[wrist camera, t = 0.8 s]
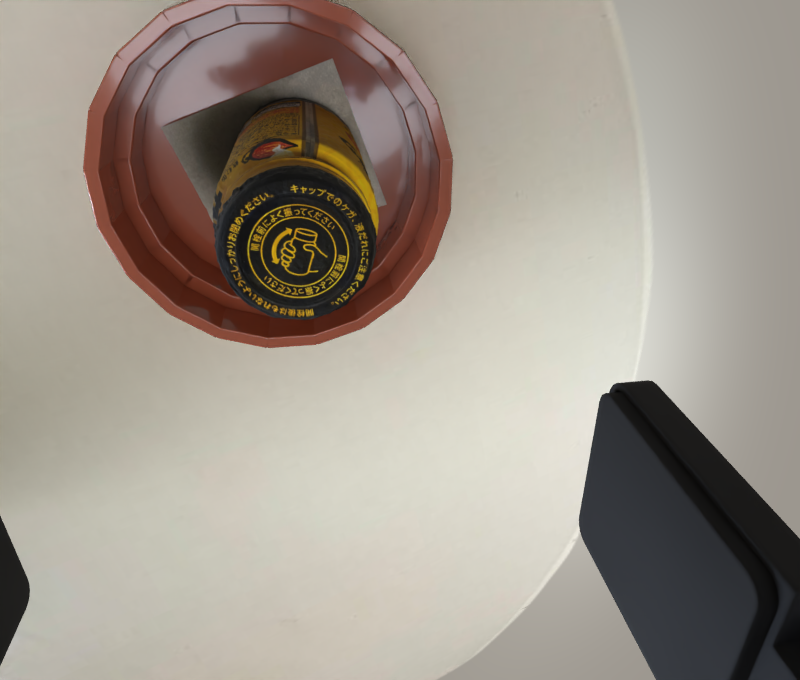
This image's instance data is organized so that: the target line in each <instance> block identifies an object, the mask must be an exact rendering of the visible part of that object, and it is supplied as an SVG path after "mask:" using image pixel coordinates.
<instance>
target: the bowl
mask: <svg viewBox="0 0 800 680" xmlns="http://www.w3.org/2000/svg"><path fill="white" fill-rule="evenodd" d="M332 58H333V61H334V64H335V66H336V69H337V72H338V74H339V77H340V80H341V82H342V85H343V88H344V91H345V94H346V96H347V98H348V101H349V104H350V107H351V109H352V112H353V115H354V117H355V120H356V123H357V125H358V128H359V131H360V134H361V136H362V139H363V142H364V144H365V147H366V150H367V152H368V155H369V158H370V160H371V163H372V166H373V169H374V171H375V174H376V177H377V179H378V182H379V185H380V187H381V190H382V193H383V195H384V198H385V201H386V204H387V205H384V206H380V207H378V214H379V223H378V232H377V239H376V256H375V259H374V263H373V267H372V270H371V273H370V276H369V278H368V280H367V282H366V284H365V286H364V287H363V288H362V289H361V290H360V291H358V292H357V293H356V294H355V295H354V296H353V298H352V299H351V300H350V301H349V303H348V304H347V305H345V306H343V307H342V308H340V309H338V310H335V311H333V312H332V313H330V314H326V315H323V316H320V317H318V318H314V319H309V320H300V319H285V318H274V317H271V316H268V315H267V314H265V313H263V312H261V311H259V310H257V309H255V308H253V307H251V306H249V305H248V304H247V303H245V302H244V301H243V300H242V299H241V298H240V297H239V296H238V295H237V294H236V293H235V292H234V291H233V289H232V288H231V287H230V285H229V284H228V282H227V280H226V278H225V277H224V275H223V273H222V271H221V268H220V265H219V263H218V262H217V256H216V250H215V247H214V245H215V237H214V228H213V222H212V220H211V218H210V216H209V214H208V211H207V209H206V208H205V206H204V205H203V203H202V201H201V199H200V197H199V195H198V193H197V192H196V190H195V188H194V186H193V184H192V182H191V181H190V179H189V177H188V175H187V173H186V172H185V170H184V168H183V166H182V164H181V162H180V160H179V159H178V157H177V155H176V153H175V151H174V149H173V148H172V146H171V144H170V143H169V141H168V140H167V138H166V136H165V134H164V132H163V130H162V129H161V127H163V126H166V125H168V124H171V123H173V122H176V121H178V120H181V119H184V118H186V117H188V116H191V115H193V114H195V113H198V112H200V111H202V110H205V109H208V108H210V107H213V106H215V105H218V104H220V103H223V102H226V101H228V100H230V99H233V98H235V97H238V96H240V95H242V94H244V93H247V92H250V91H252V90H255V89H257V88H259V87H262V86H265V85H267V84H269V83H272V82H274V81H277V80H279V79H282V78H284V77H287V76H289V75H292V74H294V73H297V72H299V71H302V70H304V69H307V68H309V67H312V66H314V65H317V64H319V63H322V62H324V61H327V60H329V59H332ZM452 168H453V158H452V152H451V149H450V145H449V141H448V138H447V134H446V131H445V127H444V123H443V120H442V116H441V112H440V109H439V105H438V103H437V100H436V99H435V97H434V96H433V94H432V92H431V91H430V89H429V88H428V86H427V85H426V83H425V82H424V80H423V79H422V77H421V76H420V74H419V73H418V71H417V70H416V68H415V67H414V65H413V63H412V62H411V60H410V59H409V57H408V56H407V54H406V53H405V51H403V49H402V48H400V47H399V46H398V45H397V44H395V43H394V42H393V41H392V40H390V39H389V38H388V37H387V36H385V35H384V34H383V33H382V32H380V31H379V30H378V29H377V28H375V27H374V26H373V25H372V24H370V23H369V22H368V21H366V20H365V19H364V18H363V17H361V16H360V15H359V14H358V13H356V12H355V11H353V10H352V9H350V8H347V7H344V6H341V5H338V4H336V3H333V2H330V1H327V0H188V1H186V2H183V3H181V4H178V5H175V6H173V7H170V8H167V9H165V10H163V11H162V12H160V13H159V14H158V15H157V16H156V17H155V18H154V19H152V20H151V21H150V22H149V23H148V24H147V25H146V26H145V27H144V28H143V29H142V30H140V31H139V32H138V33H137V34H136V35H135V36H134V37H133V38H132V39H131V40H130V41H128V42H127V43H126V44H125V45H124V46H123V47H122V48H121V49H120V50H119V51H118V52H117V53H116V54H115V55H114V57H113V59H112V61H111V64H110V66H109V68H108V70H107V72H106V74H105V76H104V78H103V80H102V82H101V84H100V86H99V88H98V90H97V93H96V95H95V97H94V99H93V101H92V103H91V105H90V107H89V111H88V119H87V130H86V142H85V153H84V164H83V172H84V176H85V180H86V184H87V188H88V192H89V196H90V200H91V204H92V208H93V212H94V216H95V220H96V224H97V227H98V229H99V231H100V232H101V234H102V236H103V237H104V239H105V241H106V242H107V244H108V245H109V247H110V249H111V250H112V252H113V254H114V255H115V257H116V258H117V260H118V262H119V263H120V265H121V267H122V268H123V270H124V272H125V273H126V275H127V276H128V277H129V278H130V279H131V280H132V281H133V282H134V283H135V284H137V285H138V286H139V287H140V288H141V289H142V290H143V291H144V292H145V293H146V294H148V295H149V296H150V297H151V298H152V299H153V300H154V301H155V302H156V303H157V304H159V305H160V306H161V307H162V308H163V309H164V310H165V311H166V312H167V313H169V314H170V315H172V316H174V317H176V318H178V319H180V320H182V321H184V322H186V323H188V324H190V325H192V326H194V327H196V328H198V329H200V330H202V331H204V332H206V333H208V334H210V335H212V336H214V337H217V338H220V339H225V340H230V341H235V342H240V343H245V344H250V345H255V346H260V347H265V348H267V347H268V348H275V347H290V346H304V345H316V344H320V343H323V342H326V341H329V340H332V339H335V338H337V337H340V336H343V335H346V334H349V333H351V332H354V331H357V330H360V329H362V328H364V327H366V326H367V325H369V324H370V323H371V322H373V321H374V320H376V319H377V318H378V317H380V316H381V315H383V314H384V313H385V312H387V311H388V310H389V309H391V308H392V307H394V306H395V305H396V304H398V303H399V302H401V301H402V299H404V298H405V296H406V295H407V294H408V292H409V291H410V290H411V289H412V287H413V286H414V285H415V283H416V282H417V281H418V279H419V278H420V277H421V275H422V274H423V273H424V271H425V270H426V269H427V268H428V266H429V265H430V264H431V262H432V260H433V259H434V257H435V254H436V251H437V249H438V246H439V243H440V240H441V238H442V235H443V232H444V229H445V227H446V224H447V221H448V218H449V216H450V211H451V193H452Z"/></svg>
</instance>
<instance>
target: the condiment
mask: <svg viewBox="0 0 800 680" xmlns="http://www.w3.org/2000/svg"><path fill="white" fill-rule="evenodd" d="M161 129H162V130H163V132H164V134H165V136H166V138H167V140H168V141H169V143H170V144H171V146H172V148H173V149H174V151H175V153H176V155H177V157H178V159H179V160H180V162H181V164H182V166H183V168H184V170H185V172H186V173H187V175H188V177H189V179H190V181H191V182H192V184H193V186H194V188H195V190H196V192H197V193H198V195H199V197H200V199H201V201H202V203H203V205H204V206H205V208H206V209H207V211H208V214H209V216H210V218H211V220H212V222H213V228H214V237H215V245H214V247H215V250H216V256H217V262H218V263H219V265H220V268H221V271H222V273H223V275H224V277H225V278H226V280H227V282H228V284H229V285H230V287H231V288H232V289H233V291H234V292H235V293H236V294H237V295H238V296H239V297H240V298H241V299H242V300H243V301H244V302H245V303H247V304H248V305H249V306H251V307H253V308H255V309H257V310H259V311H261V312H263V313H265V314H267V315H268V316H271V317H274V318H285V319H300V320H309V319H314V318H318V317H320V316H323V315H326V314H330V313H332V312H333V311H335V310H338V309H340V308H342V307H343V306H345V305H347V304H348V303H349V301H350V300H351V299H352V298H353V296H354V295H355V294H356V293H357V292H358V291H360V290H361V289H362V288H363V287H364V286H365V284H366V282H367V280H368V278H369V276H370V273H371V270H372V267H373V263H374V259H375V256H376V239H377V232H378V223H379V214H378V207H380V206H384V205H387V204H386V201H385V198H384V195H383V193H382V190H381V187H380V185H379V182H378V179H377V177H376V174H375V171H374V169H373V166H372V163H371V160H370V158H369V155H368V152H367V150H366V147H365V144H364V142H363V139H362V136H361V134H360V131H359V128H358V125H357V123H356V120H355V117H354V115H353V112H352V109H351V107H350V104H349V101H348V98H347V96H346V94H345V91H344V88H343V85H342V82H341V80H340V77H339V74H338V72H337V69H336V66H335V64H334V61H333V58H332V59H329V60H327V61H324V62H322V63H319V64H317V65H314V66H312V67H309V68H307V69H304V70H302V71H299V72H297V73H294V74H292V75H289V76H287V77H284V78H282V79H279V80H277V81H274V82H272V83H269V84H267V85H265V86H262V87H259V88H257V89H255V90H252V91H250V92H247V93H244V94H242V95H240V96H238V97H235V98H233V99H230V100H228V101H226V102H223V103H220V104H218V105H215V106H213V107H210V108H208V109H205V110H202V111H200V112H198V113H195V114H193V115H191V116H188V117H186V118H184V119H181V120H178V121H176V122H173V123H171V124H168V125H166V126H163V127H161Z"/></svg>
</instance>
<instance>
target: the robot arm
mask: <svg viewBox="0 0 800 680" xmlns="http://www.w3.org/2000/svg"><path fill="white" fill-rule="evenodd" d="M579 527H580V532H581V535H582V538H583V540H584V543H585V545H586V547H587V549H588V550H589V552H590V554H591V556H592V558H593V560H594V562H595V564H596V566H597V567H598V569H599V571H600V573H601V575H602V577H603V579H604V581H605V583H606V585H607V587H608V589H609V591H610V592H611V594H612V596H613V598H614V600H615V602H616V604H617V606H618V608H619V610H620V612H621V613H622V615H623V617H624V619H625V621H626V623H627V625H628V627H629V629H630V631H631V632H632V634H633V636H634V638H635V640H636V642H637V644H638V646H639V648H640V650H641V652H642V654H643V656H644V657H645V659H646V661H647V663H648V665H649V667H650V669H651V671H652V673H653V674H654V677H655V678H656V680H800V539H799V538H798V537H797V535H796V534H795V533H794V532H793V531H792V530H791V529H790V528H789V527H788V526H787V525H786V523H785V522H784V521H783V520H782V519H781V518H780V517H779V516H778V515H777V514H776V513H775V512H774V511H773V509H771V507H770V506H769V505H768V504H767V503H766V502H765V501H764V500H763V499H762V498H761V497H760V496H759V494H758V493H757V492H756V491H755V490H754V489H753V488H752V487H751V486H750V485H749V484H748V483H747V481H746V480H745V479H744V478H743V477H742V476H741V475H740V474H739V473H738V472H737V471H736V470H735V468H734V467H733V466H732V465H731V464H730V463H729V462H728V461H727V460H726V459H725V458H724V457H723V456H722V454H721V453H720V452H719V451H718V450H717V449H716V448H715V447H714V446H713V445H712V444H711V443H710V442H709V441H708V439H707V438H706V437H705V436H704V435H703V434H702V433H701V432H700V431H699V430H698V429H697V427H696V426H695V425H694V424H693V423H692V422H691V421H690V420H689V419H688V418H687V417H686V416H685V414H684V413H683V412H682V411H681V410H680V409H679V408H678V407H677V406H676V405H675V404H674V403H673V402H672V400H671V399H670V398H669V397H668V396H667V395H666V394H665V393H664V392H663V391H662V390H661V389H660V387H659V386H658V385H657V384H655V383H654V382H653V381H637V382H626V383H616V384H614V385H613V386H612V388H611V389H610V392H609V393H605V394H603V395H602V397H601V399H600V402H599V408H598V413H597V419H596V425H595V430H594V436H593V442H592V447H591V453H590V459H589V464H588V470H587V476H586V481H585V487H584V493H583V498H582V504H581V510H580V515H579ZM29 593H30V588H29V582H28V579H27V576H26V574H25V572H24V569H23V567H22V565H21V562H20V560H19V558H18V556H17V553H16V551H15V549H14V546H13V544H12V542H11V539H10V537H9V535H8V533H7V530H6V528H5V526H4V523H3V521H2V519H1V516H0V665H1V663H2V661H3V659H4V656H5V654H6V652H7V650H8V647H9V645H10V643H11V641H12V639H13V636H14V634H15V632H16V630H17V627H18V625H19V623H20V621H21V619H22V616H23V614H24V612H25V610H26V607H27V604H28V601H29Z"/></svg>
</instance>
